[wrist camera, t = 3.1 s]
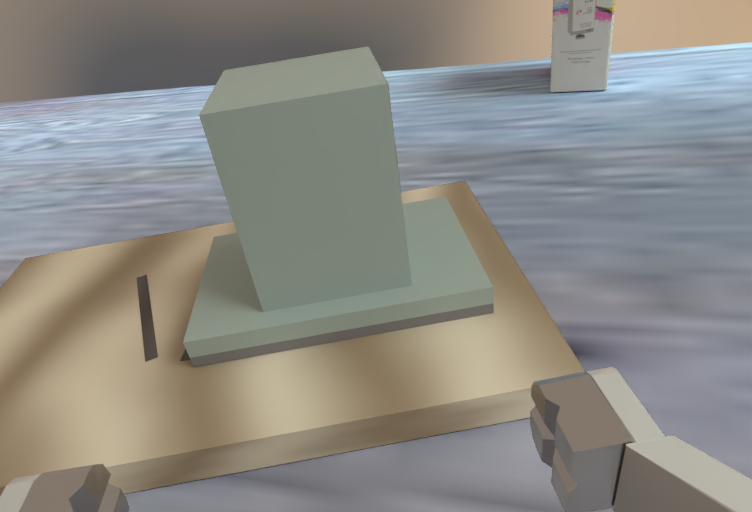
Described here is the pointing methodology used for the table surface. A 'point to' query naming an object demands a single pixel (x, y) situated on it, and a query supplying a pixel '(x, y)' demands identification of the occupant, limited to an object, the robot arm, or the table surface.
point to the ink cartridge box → (581, 44)
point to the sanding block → (321, 217)
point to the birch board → (243, 367)
